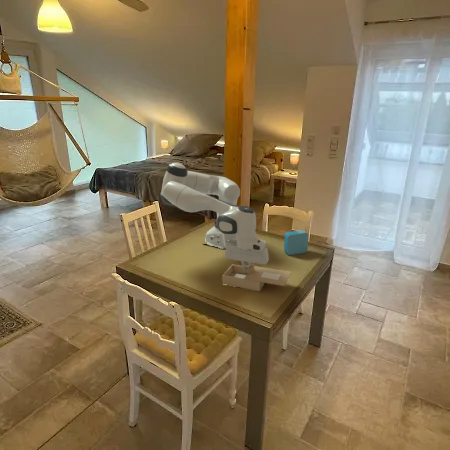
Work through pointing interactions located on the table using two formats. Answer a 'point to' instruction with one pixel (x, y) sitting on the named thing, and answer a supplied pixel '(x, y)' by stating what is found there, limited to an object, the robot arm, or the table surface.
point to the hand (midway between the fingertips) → (246, 269)
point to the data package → (296, 242)
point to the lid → (267, 275)
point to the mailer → (240, 279)
